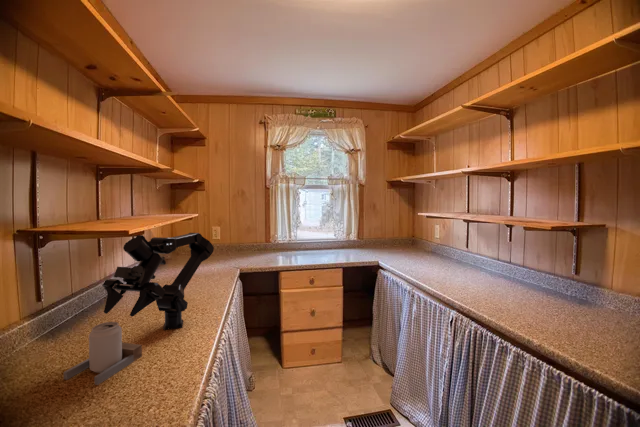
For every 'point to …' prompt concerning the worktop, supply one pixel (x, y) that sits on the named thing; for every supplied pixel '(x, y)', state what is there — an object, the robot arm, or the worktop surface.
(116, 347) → the can
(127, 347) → the stop block
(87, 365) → the guide rails
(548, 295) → the worktop surface
